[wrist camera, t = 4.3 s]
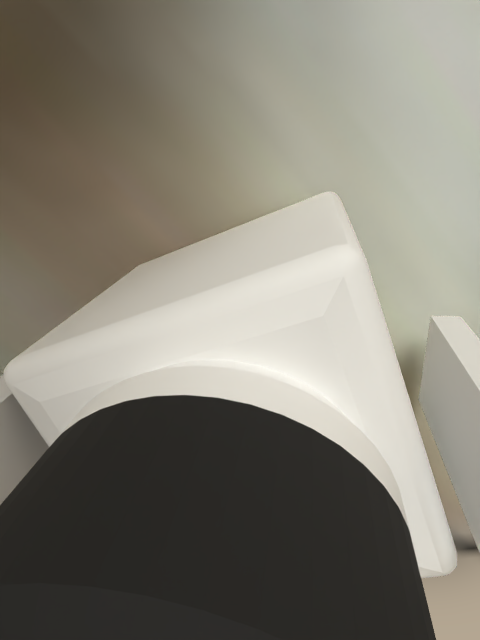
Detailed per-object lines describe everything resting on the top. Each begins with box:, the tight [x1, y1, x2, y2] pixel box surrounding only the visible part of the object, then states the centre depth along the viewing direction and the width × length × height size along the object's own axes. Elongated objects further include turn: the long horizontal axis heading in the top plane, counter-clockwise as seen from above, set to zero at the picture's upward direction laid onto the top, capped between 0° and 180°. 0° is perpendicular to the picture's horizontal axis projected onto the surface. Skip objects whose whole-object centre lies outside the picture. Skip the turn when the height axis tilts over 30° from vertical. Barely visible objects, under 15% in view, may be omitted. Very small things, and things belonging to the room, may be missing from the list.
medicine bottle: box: [0, 191, 457, 640], centre depth 9 cm, size 7×7×12 cm
